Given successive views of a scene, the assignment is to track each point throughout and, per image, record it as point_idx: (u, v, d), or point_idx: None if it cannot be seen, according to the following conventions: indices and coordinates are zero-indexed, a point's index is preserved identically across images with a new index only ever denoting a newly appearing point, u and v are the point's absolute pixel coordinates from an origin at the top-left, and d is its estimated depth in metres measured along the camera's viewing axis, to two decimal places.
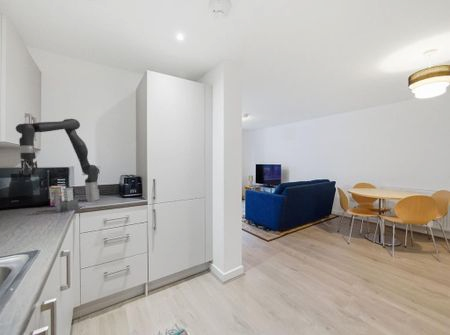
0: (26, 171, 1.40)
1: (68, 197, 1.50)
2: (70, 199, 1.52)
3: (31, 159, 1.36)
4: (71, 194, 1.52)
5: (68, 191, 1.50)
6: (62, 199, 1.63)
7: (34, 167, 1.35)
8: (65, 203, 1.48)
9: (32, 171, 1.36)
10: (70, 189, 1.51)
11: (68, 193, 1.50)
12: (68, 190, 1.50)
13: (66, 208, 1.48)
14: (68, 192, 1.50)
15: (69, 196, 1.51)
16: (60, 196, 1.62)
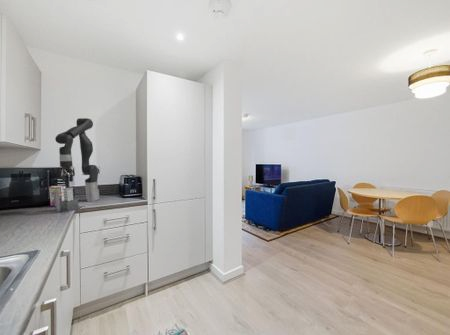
0: (63, 178, 1.52)
1: (68, 197, 1.50)
2: (70, 199, 1.52)
3: (69, 167, 1.49)
4: (71, 194, 1.52)
5: (68, 191, 1.50)
6: (62, 199, 1.63)
7: (72, 174, 1.48)
8: (65, 203, 1.48)
9: (70, 178, 1.49)
10: (70, 189, 1.51)
11: (68, 193, 1.50)
12: (68, 190, 1.50)
13: (66, 208, 1.48)
14: (68, 192, 1.50)
15: (69, 196, 1.51)
16: (60, 196, 1.62)
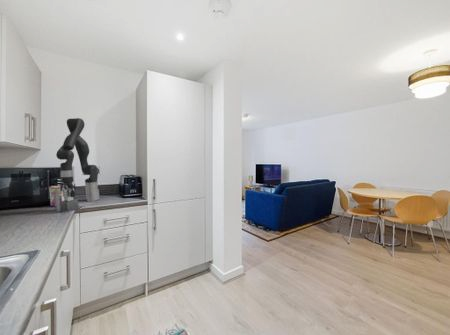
0: None
1: (68, 197, 1.50)
2: (70, 199, 1.52)
3: (70, 182, 1.50)
4: None
5: (68, 191, 1.50)
6: (62, 199, 1.63)
7: (73, 190, 1.49)
8: (65, 203, 1.48)
9: (71, 193, 1.50)
10: None
11: (68, 193, 1.50)
12: (68, 190, 1.50)
13: (66, 208, 1.48)
14: (68, 192, 1.50)
15: (69, 196, 1.51)
16: (60, 196, 1.62)
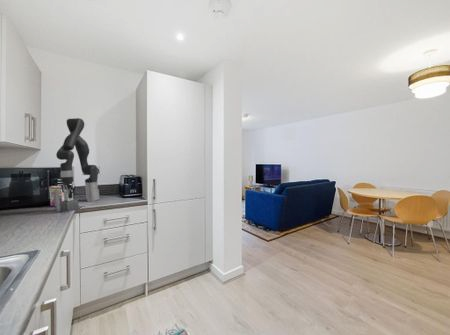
0: None
1: (68, 197, 1.50)
2: (70, 199, 1.52)
3: (70, 182, 1.50)
4: None
5: None
6: (62, 199, 1.63)
7: (72, 191, 1.50)
8: (65, 203, 1.48)
9: (70, 195, 1.50)
10: None
11: (68, 193, 1.50)
12: None
13: (66, 208, 1.48)
14: None
15: None
16: (60, 196, 1.62)
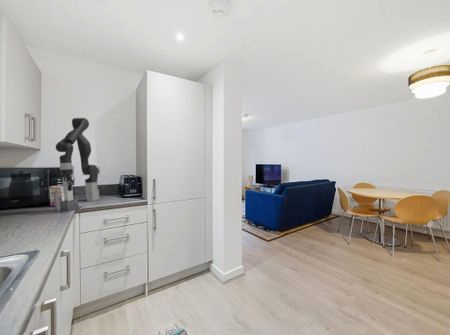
0: None
1: (67, 190, 1.50)
2: (69, 192, 1.51)
3: (70, 175, 1.49)
4: None
5: (67, 183, 1.50)
6: (62, 199, 1.63)
7: (71, 183, 1.49)
8: (65, 203, 1.48)
9: (69, 187, 1.50)
10: None
11: (67, 186, 1.50)
12: None
13: (66, 208, 1.48)
14: (67, 184, 1.50)
15: None
16: (60, 196, 1.62)
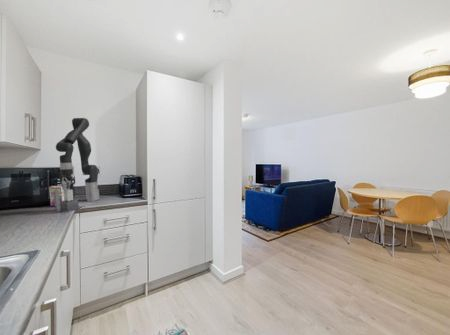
0: None
1: (67, 189, 1.50)
2: (69, 191, 1.51)
3: (70, 175, 1.49)
4: None
5: (67, 183, 1.50)
6: (62, 199, 1.63)
7: (73, 182, 1.49)
8: (65, 203, 1.48)
9: (71, 186, 1.49)
10: None
11: (67, 185, 1.50)
12: (67, 182, 1.50)
13: (66, 208, 1.48)
14: (67, 184, 1.50)
15: (68, 188, 1.50)
16: (60, 196, 1.62)
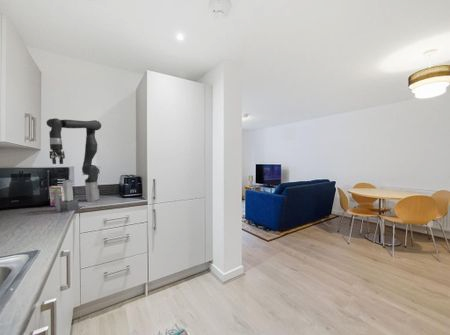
0: (54, 160, 1.59)
1: (67, 189, 1.50)
2: (69, 191, 1.51)
3: (59, 150, 1.55)
4: (70, 186, 1.52)
5: (67, 183, 1.50)
6: (62, 199, 1.63)
7: (62, 157, 1.54)
8: (65, 203, 1.48)
9: (60, 160, 1.55)
10: (69, 181, 1.51)
11: (67, 185, 1.50)
12: (67, 182, 1.50)
13: (66, 208, 1.48)
14: (67, 184, 1.50)
15: (68, 188, 1.50)
16: (60, 196, 1.62)
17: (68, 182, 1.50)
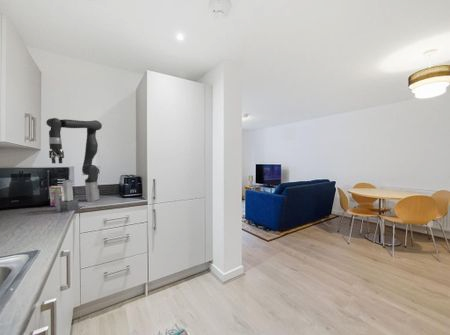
0: (53, 160, 1.59)
1: (67, 189, 1.50)
2: (69, 191, 1.51)
3: (58, 149, 1.56)
4: (70, 186, 1.52)
5: (67, 183, 1.50)
6: (62, 199, 1.63)
7: (61, 156, 1.55)
8: (65, 203, 1.48)
9: (59, 160, 1.56)
10: (69, 181, 1.51)
11: (67, 185, 1.50)
12: (67, 182, 1.50)
13: (66, 208, 1.48)
14: (67, 184, 1.50)
15: (68, 188, 1.50)
16: (60, 196, 1.62)
17: (68, 182, 1.50)
